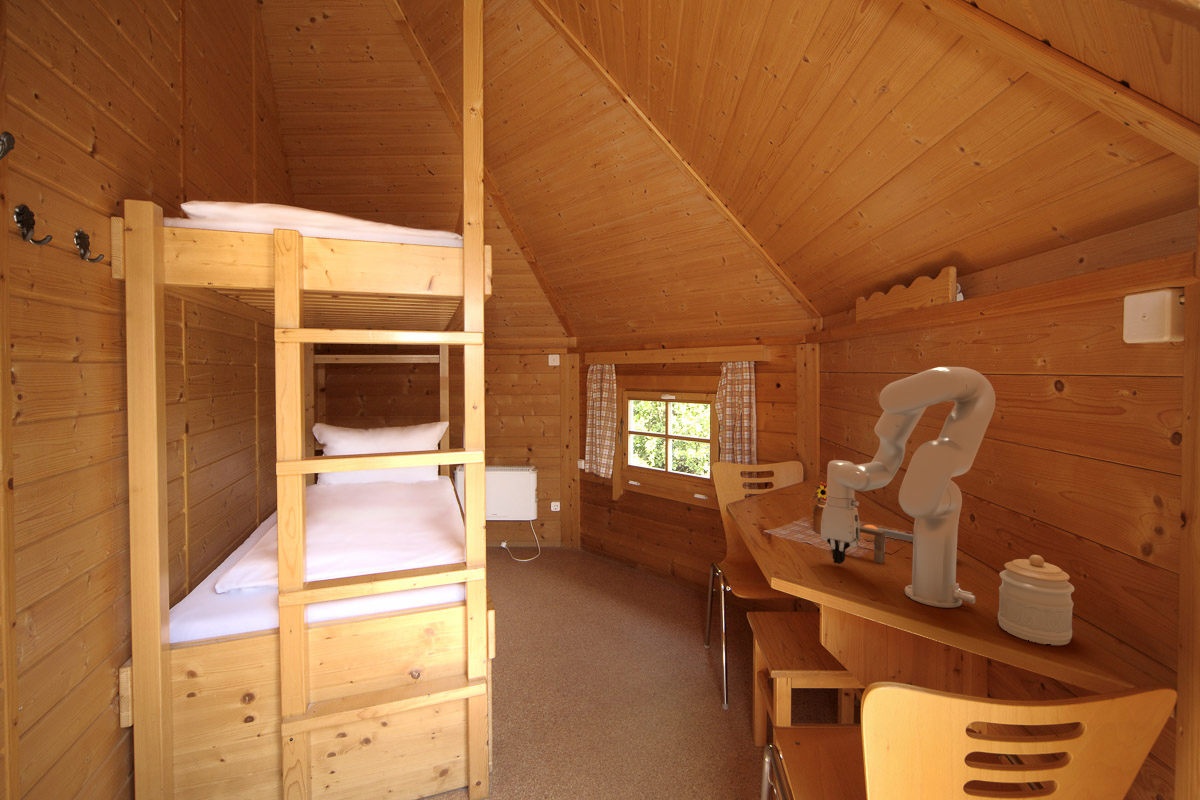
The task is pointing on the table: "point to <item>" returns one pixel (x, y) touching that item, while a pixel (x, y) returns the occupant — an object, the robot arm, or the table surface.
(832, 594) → the table surface
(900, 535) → the grey long bar
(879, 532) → the bridge
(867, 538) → the ball
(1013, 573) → the jar
